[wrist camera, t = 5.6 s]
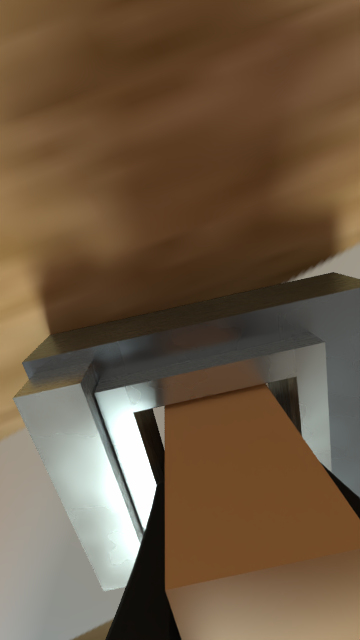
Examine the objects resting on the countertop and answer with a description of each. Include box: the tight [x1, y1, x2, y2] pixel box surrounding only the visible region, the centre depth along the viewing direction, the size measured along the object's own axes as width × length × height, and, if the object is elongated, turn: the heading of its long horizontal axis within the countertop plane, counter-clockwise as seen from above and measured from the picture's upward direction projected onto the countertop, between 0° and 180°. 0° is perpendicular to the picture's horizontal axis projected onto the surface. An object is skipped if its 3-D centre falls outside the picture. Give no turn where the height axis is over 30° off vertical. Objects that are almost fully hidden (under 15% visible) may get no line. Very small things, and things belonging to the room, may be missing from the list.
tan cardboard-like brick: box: [165, 383, 360, 640], centre depth 8 cm, size 4×4×6 cm
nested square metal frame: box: [13, 272, 360, 591], centre depth 11 cm, size 12×10×4 cm
